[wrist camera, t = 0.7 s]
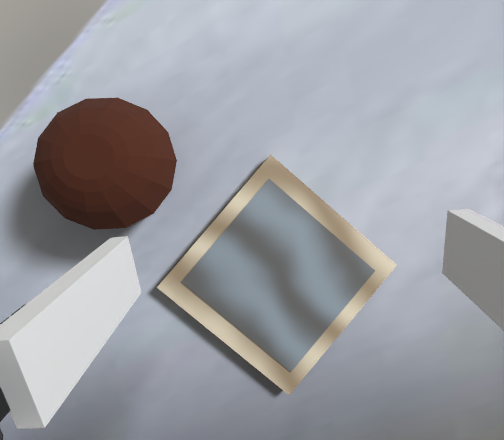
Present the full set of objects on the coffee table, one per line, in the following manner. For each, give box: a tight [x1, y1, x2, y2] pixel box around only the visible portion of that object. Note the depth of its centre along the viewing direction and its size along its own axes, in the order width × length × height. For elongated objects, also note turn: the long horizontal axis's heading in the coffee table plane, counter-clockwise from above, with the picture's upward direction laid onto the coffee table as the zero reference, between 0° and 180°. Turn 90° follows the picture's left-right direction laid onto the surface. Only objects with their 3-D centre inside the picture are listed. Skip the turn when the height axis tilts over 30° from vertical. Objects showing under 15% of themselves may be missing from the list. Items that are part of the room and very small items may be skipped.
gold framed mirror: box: [157, 155, 397, 395], centre depth 35 cm, size 18×18×2 cm
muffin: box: [33, 98, 177, 229], centre depth 29 cm, size 12×11×10 cm
